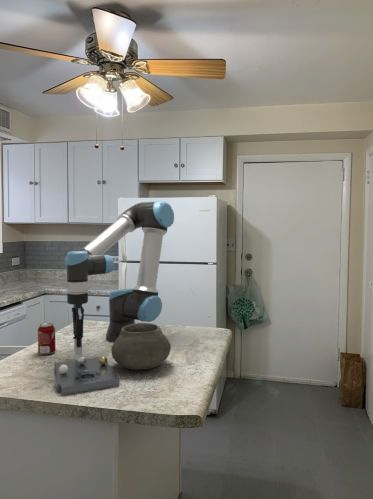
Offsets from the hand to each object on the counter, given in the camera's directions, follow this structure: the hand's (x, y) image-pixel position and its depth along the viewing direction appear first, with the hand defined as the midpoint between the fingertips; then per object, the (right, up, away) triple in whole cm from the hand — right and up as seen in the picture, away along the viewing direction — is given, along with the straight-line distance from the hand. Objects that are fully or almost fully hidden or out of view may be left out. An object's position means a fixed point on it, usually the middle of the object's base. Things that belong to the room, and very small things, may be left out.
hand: (78, 354), depth 145 cm
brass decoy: (+11, 0, -6) cm, 12 cm away
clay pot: (+24, -4, -1) cm, 24 cm away
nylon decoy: (-1, -1, -15) cm, 15 cm away
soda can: (-17, -4, +14) cm, 23 cm away
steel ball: (+3, 0, -6) cm, 7 cm away
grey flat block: (+6, -5, -12) cm, 14 cm away
